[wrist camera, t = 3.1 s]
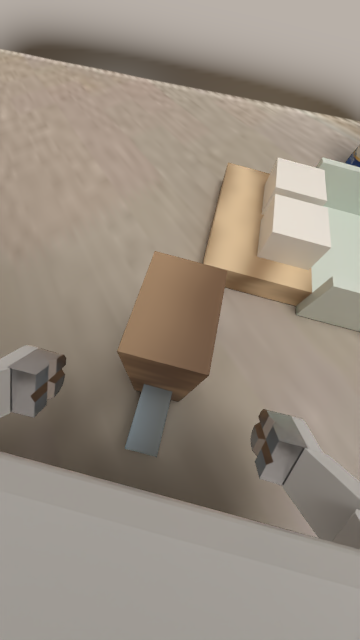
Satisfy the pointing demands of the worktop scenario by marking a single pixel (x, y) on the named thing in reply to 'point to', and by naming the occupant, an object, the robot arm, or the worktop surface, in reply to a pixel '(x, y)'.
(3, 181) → the worktop surface
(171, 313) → the stacked block structure
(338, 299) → the tray
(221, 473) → the worktop surface
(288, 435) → the robot arm
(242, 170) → the board
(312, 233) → the tile
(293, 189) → the tile
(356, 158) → the beverage bottle
